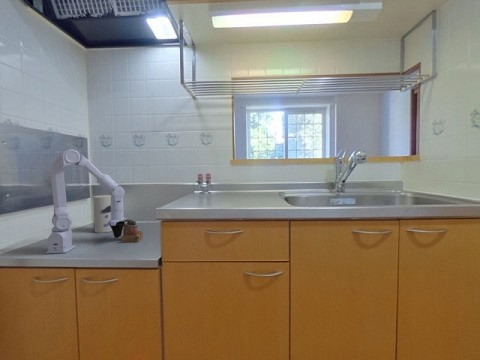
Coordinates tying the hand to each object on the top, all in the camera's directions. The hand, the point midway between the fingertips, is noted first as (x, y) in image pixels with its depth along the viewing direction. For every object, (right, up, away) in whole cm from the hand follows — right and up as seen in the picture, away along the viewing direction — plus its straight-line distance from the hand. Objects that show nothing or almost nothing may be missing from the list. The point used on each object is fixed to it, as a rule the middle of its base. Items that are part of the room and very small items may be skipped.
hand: (117, 236), depth 130 cm
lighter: (+6, -2, +1) cm, 6 cm away
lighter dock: (+7, -2, +1) cm, 7 cm away
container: (-17, -1, +19) cm, 26 cm away
